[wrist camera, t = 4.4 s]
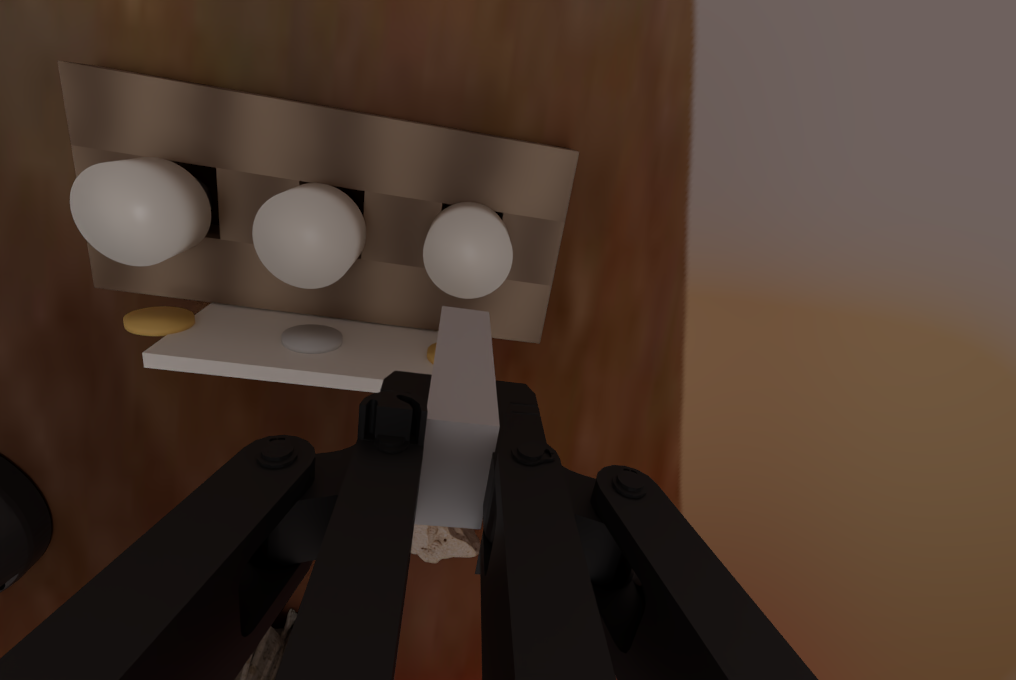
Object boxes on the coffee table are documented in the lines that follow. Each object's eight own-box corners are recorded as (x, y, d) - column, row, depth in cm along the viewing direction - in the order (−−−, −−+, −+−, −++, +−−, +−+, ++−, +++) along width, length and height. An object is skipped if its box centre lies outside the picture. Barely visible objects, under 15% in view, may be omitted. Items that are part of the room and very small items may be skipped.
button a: (150, 232, 30) (79, 258, 24) (140, 146, 28) (61, 153, 22) (236, 244, 30) (185, 272, 25) (232, 160, 28) (176, 171, 23)
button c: (427, 263, 33) (418, 292, 28) (435, 188, 31) (427, 204, 26) (500, 274, 34) (505, 304, 28) (511, 201, 32) (519, 218, 27)
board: (125, 273, 33) (94, 287, 30) (97, 65, 28) (57, 60, 25) (534, 326, 36) (539, 343, 33) (569, 148, 31) (579, 151, 29)
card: (191, 294, 34) (86, 361, 25) (189, 277, 33) (82, 339, 24) (478, 330, 36) (480, 404, 27) (480, 316, 36) (483, 385, 26)
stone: (438, 425, 39) (433, 466, 35) (486, 530, 44) (487, 578, 39) (332, 458, 40) (313, 502, 35) (390, 558, 45) (380, 608, 40)
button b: (292, 252, 31) (253, 281, 25) (292, 170, 29) (250, 182, 23) (373, 264, 31) (352, 294, 26) (377, 184, 29) (356, 199, 24)
